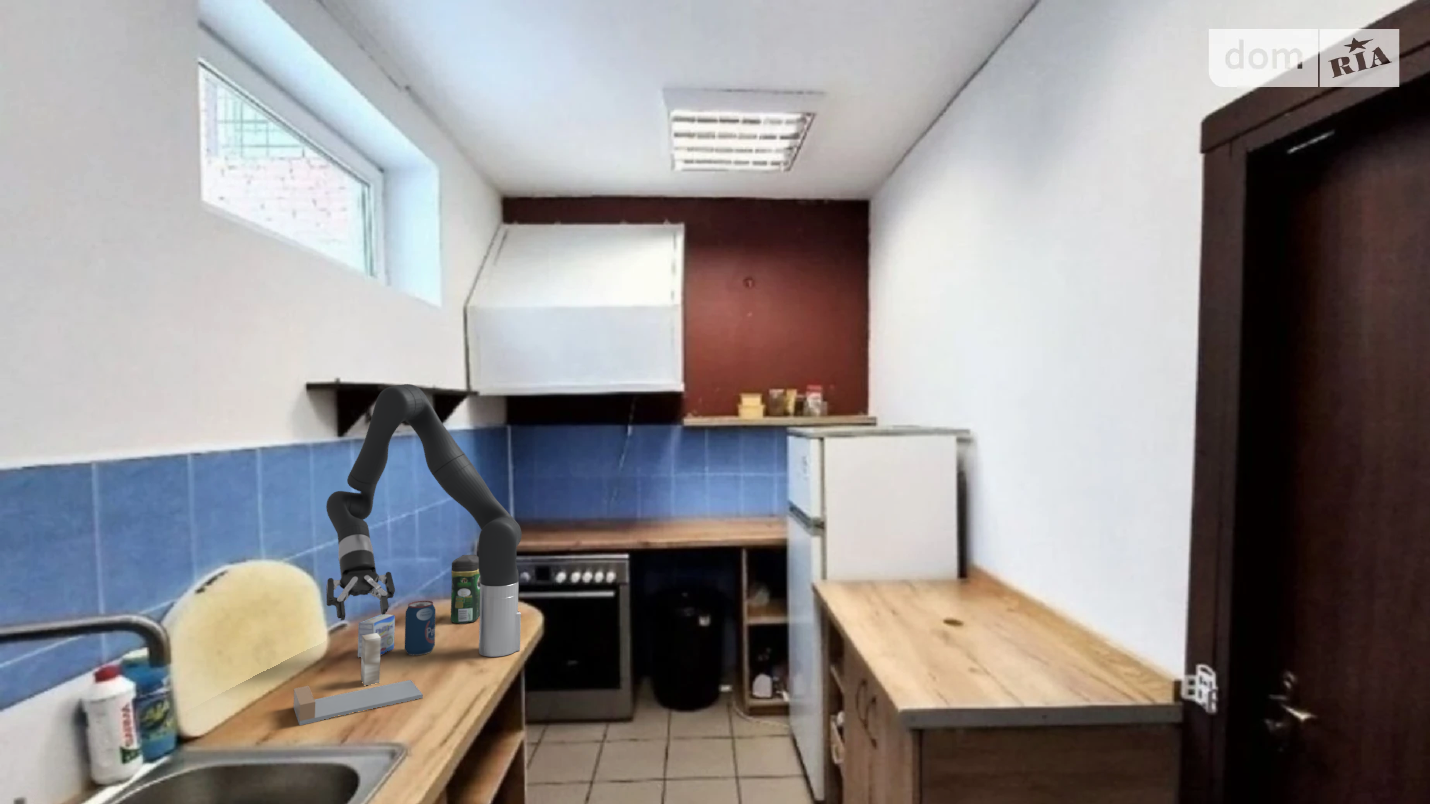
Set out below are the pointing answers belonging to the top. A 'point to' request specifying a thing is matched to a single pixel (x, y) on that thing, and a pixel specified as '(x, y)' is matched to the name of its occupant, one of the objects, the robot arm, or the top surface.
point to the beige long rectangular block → (370, 659)
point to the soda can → (420, 628)
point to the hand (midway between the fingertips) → (364, 615)
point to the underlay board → (350, 701)
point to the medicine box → (378, 631)
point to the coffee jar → (465, 589)
